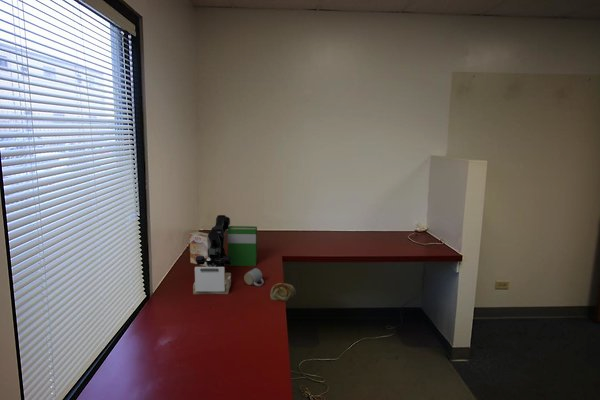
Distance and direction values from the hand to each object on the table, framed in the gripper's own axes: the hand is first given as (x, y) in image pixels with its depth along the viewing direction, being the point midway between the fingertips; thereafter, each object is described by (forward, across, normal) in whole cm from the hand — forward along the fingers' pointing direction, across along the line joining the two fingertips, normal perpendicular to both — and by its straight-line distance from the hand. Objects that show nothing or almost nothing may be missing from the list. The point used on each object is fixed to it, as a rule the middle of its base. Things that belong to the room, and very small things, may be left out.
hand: (212, 274), depth 195 cm
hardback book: (-22, +13, +34) cm, 42 cm away
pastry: (+12, +38, +1) cm, 40 cm away
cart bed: (+5, 0, +7) cm, 9 cm away
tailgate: (+10, 0, 0) cm, 10 cm away
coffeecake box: (-22, -13, +34) cm, 42 cm away
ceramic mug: (0, +22, +12) cm, 26 cm away
